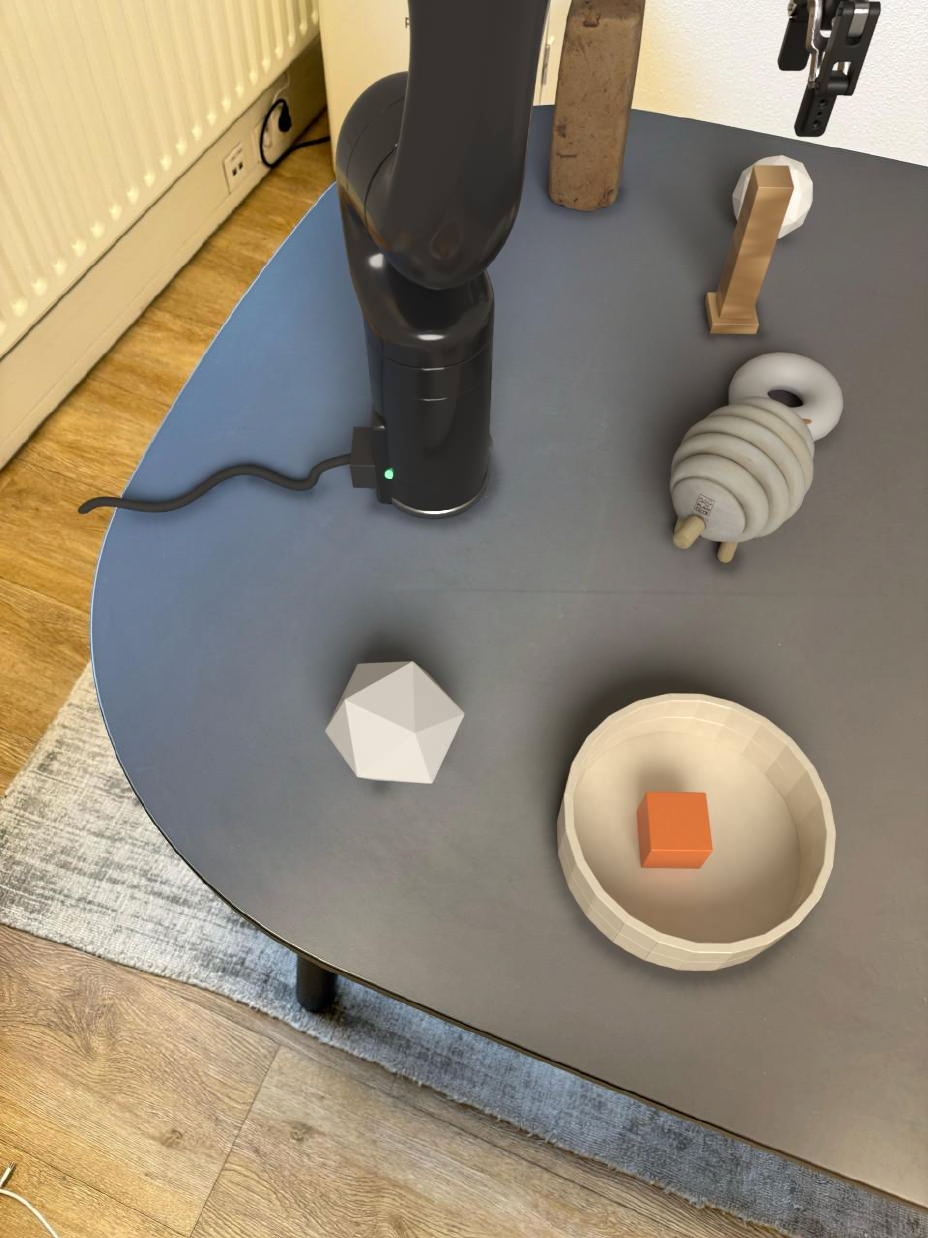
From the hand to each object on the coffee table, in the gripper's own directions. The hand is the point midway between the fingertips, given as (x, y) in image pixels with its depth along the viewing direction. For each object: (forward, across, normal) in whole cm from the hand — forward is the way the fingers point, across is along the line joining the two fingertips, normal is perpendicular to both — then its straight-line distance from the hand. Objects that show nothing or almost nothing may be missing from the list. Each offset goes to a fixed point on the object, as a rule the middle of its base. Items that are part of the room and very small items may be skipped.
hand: (798, 100), depth 75 cm
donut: (+22, +12, +3) cm, 25 cm away
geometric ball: (+22, -13, +5) cm, 26 cm away
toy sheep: (+22, +24, -4) cm, 33 cm away
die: (+22, +45, -30) cm, 58 cm away
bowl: (+22, +52, -10) cm, 57 cm away
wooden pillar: (+22, 0, 0) cm, 22 cm away
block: (+22, -20, -13) cm, 32 cm away
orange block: (+21, +52, -11) cm, 57 cm away
